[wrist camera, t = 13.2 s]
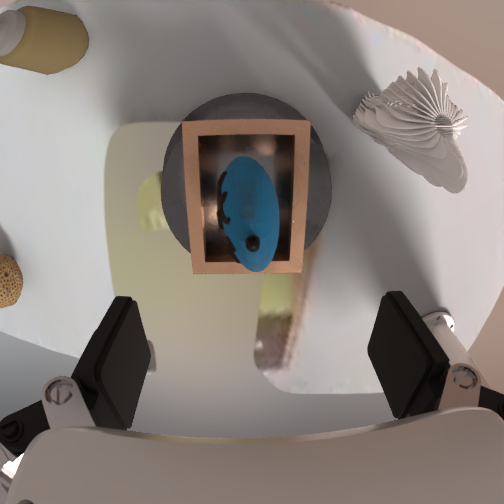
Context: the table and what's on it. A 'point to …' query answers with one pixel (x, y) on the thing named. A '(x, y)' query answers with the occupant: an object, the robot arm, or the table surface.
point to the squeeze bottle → (41, 39)
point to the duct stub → (267, 155)
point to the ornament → (248, 213)
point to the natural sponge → (9, 281)
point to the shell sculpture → (418, 128)
